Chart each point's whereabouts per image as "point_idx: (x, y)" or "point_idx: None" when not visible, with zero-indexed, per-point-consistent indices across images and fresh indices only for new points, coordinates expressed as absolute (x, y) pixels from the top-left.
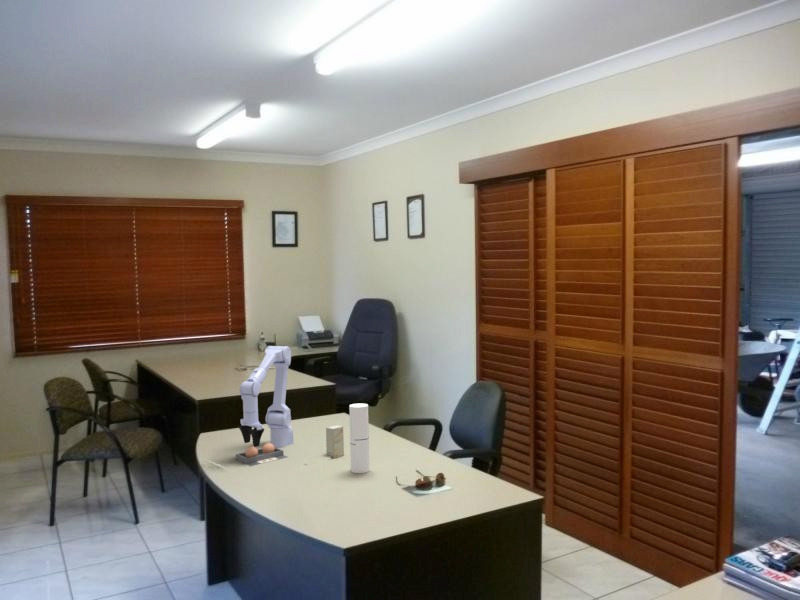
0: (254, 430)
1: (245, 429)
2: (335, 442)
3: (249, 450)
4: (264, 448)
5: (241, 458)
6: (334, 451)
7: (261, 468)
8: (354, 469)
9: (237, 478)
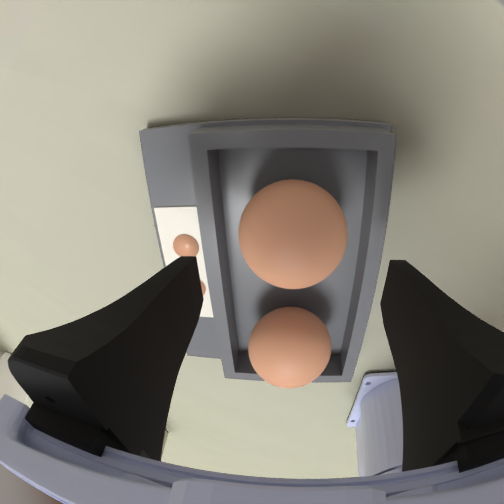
0: (17, 381)
1: (440, 393)
2: None
3: (264, 216)
4: (277, 332)
5: (285, 127)
6: None
7: (117, 184)
8: (1, 357)
9: (45, 22)
